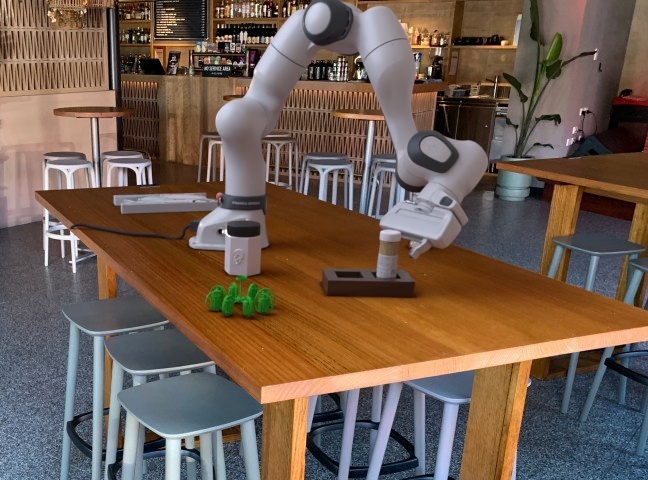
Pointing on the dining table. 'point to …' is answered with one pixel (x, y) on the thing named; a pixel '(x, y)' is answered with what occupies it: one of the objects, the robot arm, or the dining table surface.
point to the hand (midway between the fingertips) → (396, 252)
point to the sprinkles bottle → (388, 254)
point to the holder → (366, 283)
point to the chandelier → (240, 299)
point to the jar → (243, 248)
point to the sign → (165, 203)
